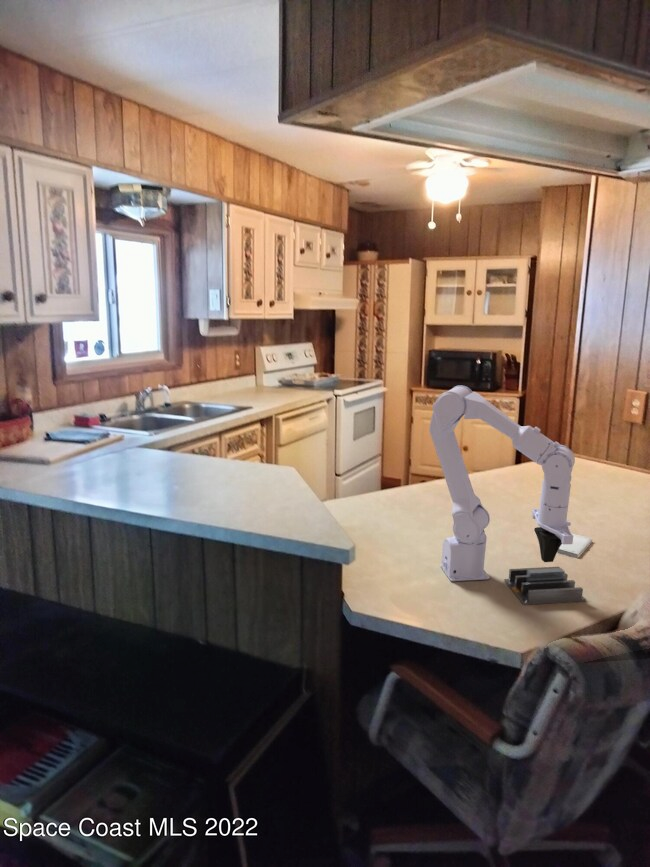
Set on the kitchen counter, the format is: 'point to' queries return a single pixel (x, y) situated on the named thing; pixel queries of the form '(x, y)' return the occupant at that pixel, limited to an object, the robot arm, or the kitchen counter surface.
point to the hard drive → (575, 546)
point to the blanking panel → (545, 575)
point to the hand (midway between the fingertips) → (547, 560)
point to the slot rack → (543, 589)
